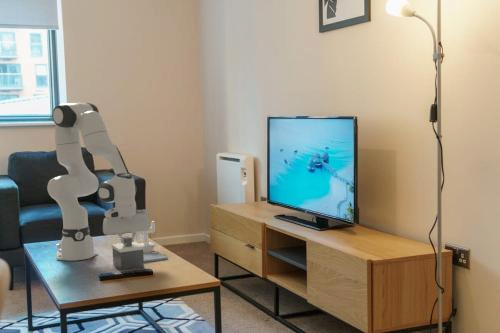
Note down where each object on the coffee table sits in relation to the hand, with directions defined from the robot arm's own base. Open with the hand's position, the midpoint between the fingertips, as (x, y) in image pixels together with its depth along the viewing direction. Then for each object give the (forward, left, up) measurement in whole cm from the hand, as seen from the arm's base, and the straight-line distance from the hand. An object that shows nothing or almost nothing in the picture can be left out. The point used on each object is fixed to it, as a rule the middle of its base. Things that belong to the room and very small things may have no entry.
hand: (127, 242), depth 289 cm
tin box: (0, 0, -10) cm, 10 cm away
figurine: (-23, +16, -11) cm, 30 cm away
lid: (0, 0, -4) cm, 4 cm away
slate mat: (-9, +13, -10) cm, 19 cm away
